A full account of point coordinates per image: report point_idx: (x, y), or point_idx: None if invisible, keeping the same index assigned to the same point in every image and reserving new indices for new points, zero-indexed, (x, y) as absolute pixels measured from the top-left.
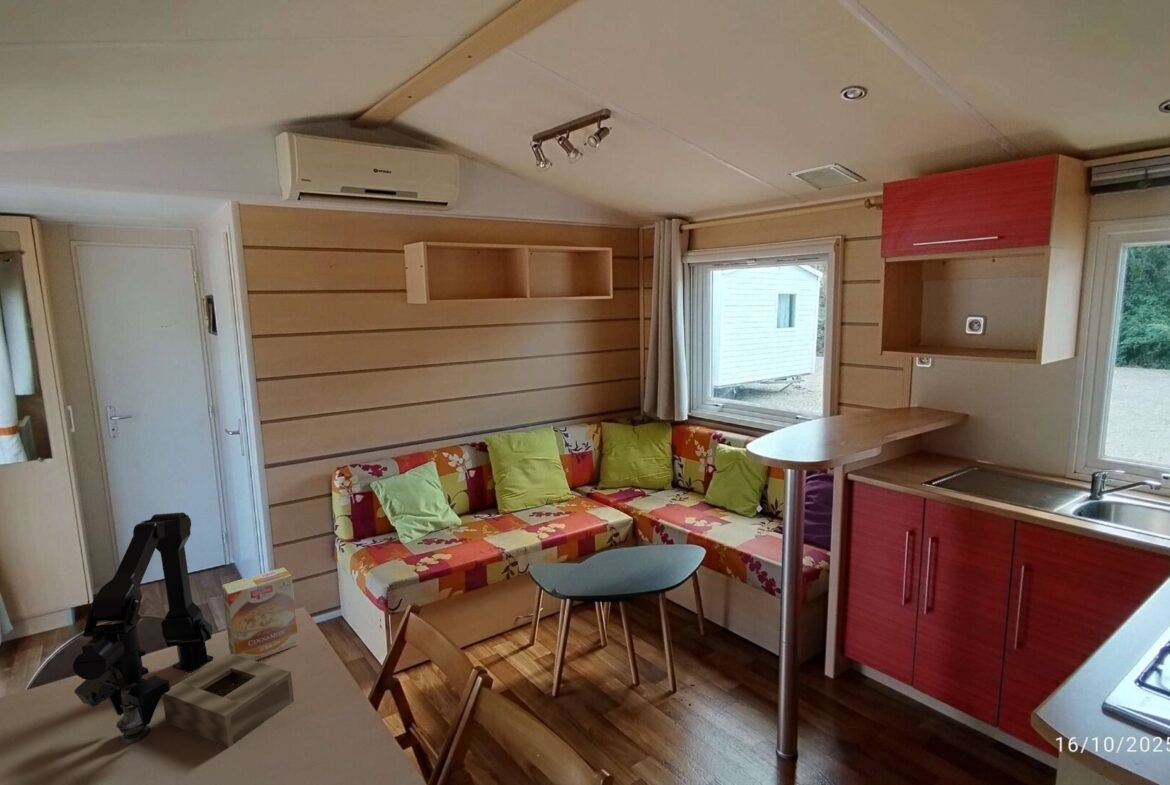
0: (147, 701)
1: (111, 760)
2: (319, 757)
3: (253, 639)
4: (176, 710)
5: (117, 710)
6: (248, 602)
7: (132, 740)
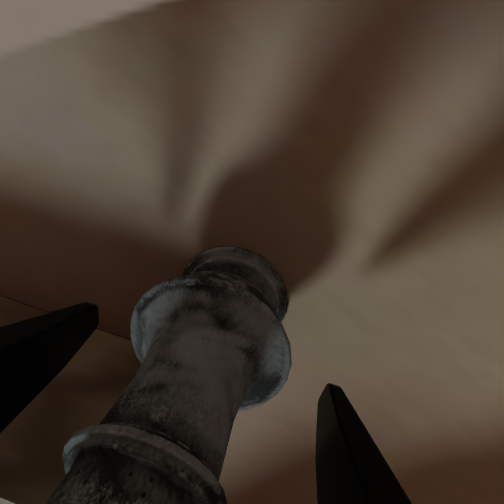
0: None
1: (187, 132)
2: None
3: None
4: (48, 395)
5: (334, 417)
6: None
7: (203, 260)
